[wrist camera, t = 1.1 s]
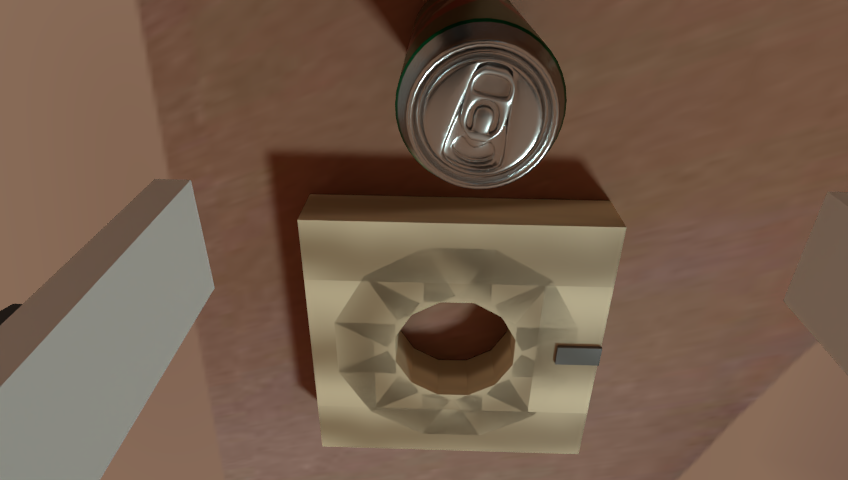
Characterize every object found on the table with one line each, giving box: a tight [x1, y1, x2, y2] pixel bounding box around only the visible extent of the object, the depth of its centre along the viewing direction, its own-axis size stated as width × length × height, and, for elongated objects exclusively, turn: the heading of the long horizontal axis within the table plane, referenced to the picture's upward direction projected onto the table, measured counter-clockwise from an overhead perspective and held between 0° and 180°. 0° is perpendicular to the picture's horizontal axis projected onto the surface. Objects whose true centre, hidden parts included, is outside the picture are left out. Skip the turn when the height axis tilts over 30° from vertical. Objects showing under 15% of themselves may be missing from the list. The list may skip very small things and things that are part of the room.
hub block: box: [297, 194, 626, 454], centre depth 33 cm, size 16×16×3 cm
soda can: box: [395, 0, 567, 189], centre depth 21 cm, size 5×5×12 cm
